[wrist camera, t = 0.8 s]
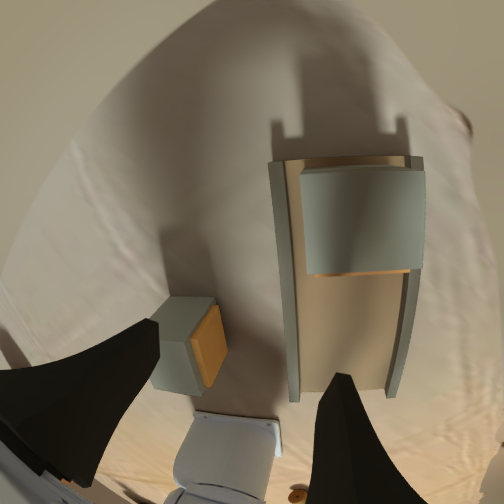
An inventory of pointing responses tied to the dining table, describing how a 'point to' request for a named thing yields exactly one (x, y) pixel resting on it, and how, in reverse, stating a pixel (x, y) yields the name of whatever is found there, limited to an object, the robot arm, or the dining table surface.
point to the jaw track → (342, 308)
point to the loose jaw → (189, 345)
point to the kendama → (297, 497)
